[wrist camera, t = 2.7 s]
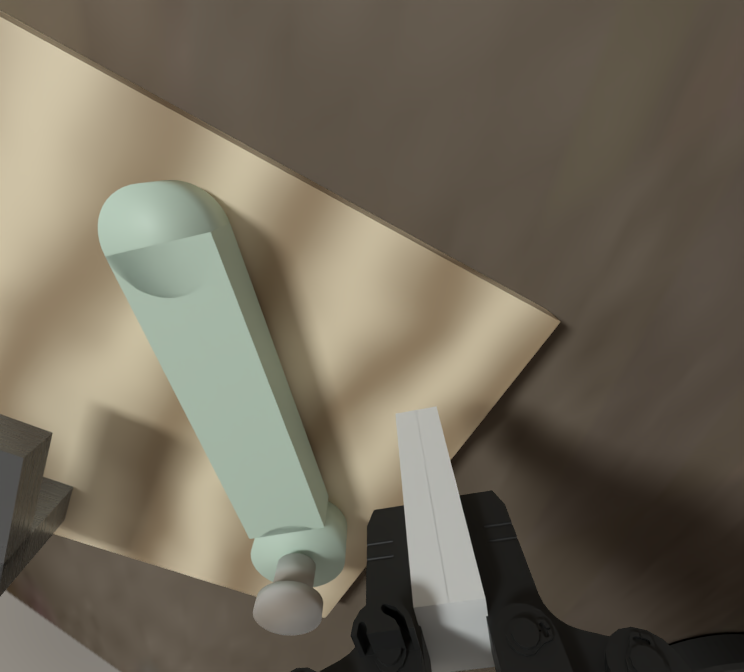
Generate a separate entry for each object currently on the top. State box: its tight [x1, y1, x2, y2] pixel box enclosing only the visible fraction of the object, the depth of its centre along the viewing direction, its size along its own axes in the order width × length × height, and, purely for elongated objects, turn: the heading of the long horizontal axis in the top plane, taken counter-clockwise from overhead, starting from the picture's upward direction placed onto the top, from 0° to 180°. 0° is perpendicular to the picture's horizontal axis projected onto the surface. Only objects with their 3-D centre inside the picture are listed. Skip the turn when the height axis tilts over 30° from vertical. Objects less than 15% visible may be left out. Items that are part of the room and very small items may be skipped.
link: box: [98, 180, 347, 587], centre depth 18 cm, size 22×5×2 cm, turn 12°
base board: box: [0, 11, 560, 635], centre depth 18 cm, size 26×25×7 cm
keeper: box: [0, 414, 73, 596], centre depth 18 cm, size 3×10×4 cm, turn 152°
